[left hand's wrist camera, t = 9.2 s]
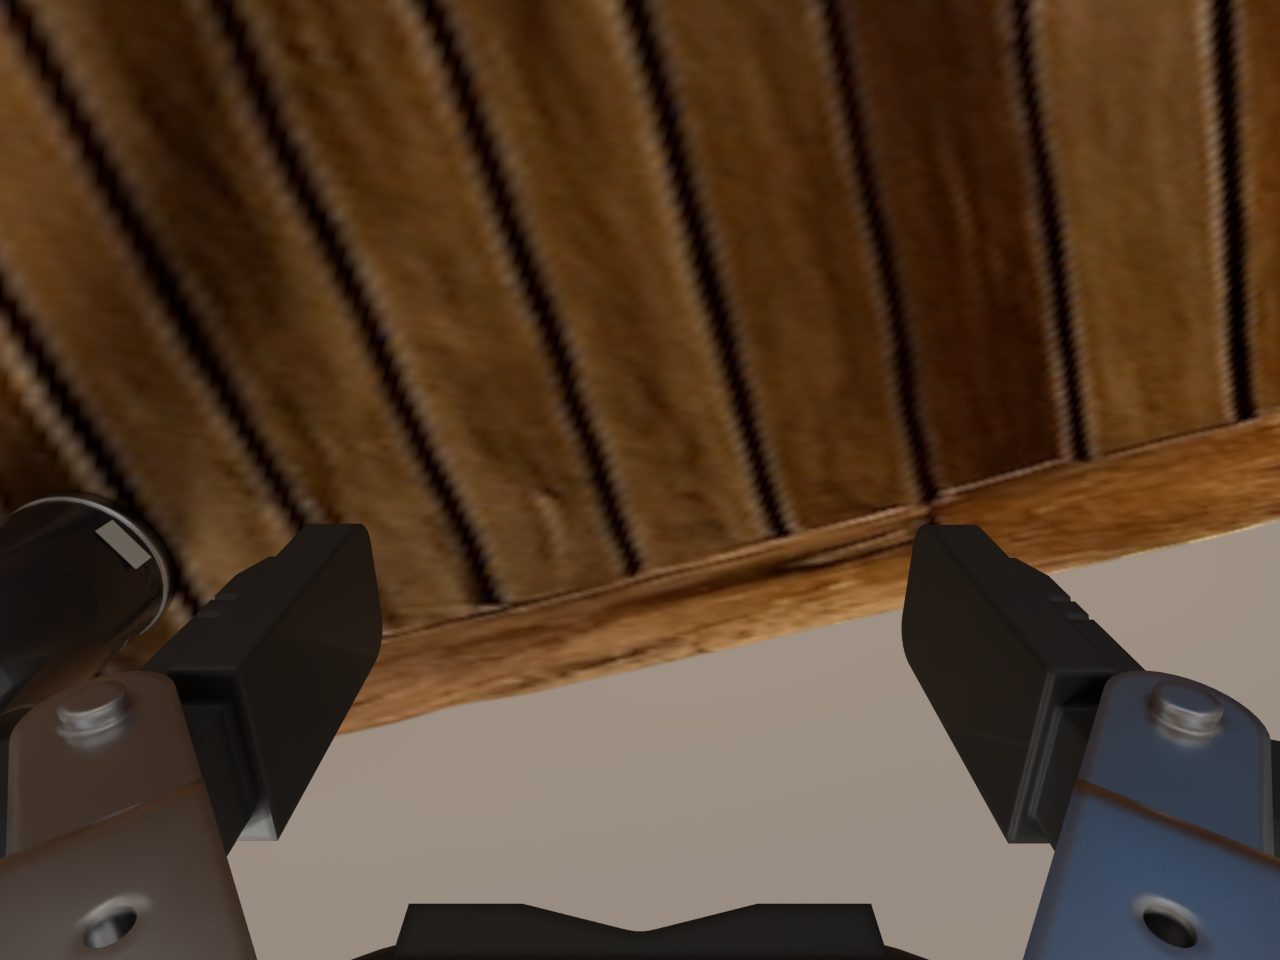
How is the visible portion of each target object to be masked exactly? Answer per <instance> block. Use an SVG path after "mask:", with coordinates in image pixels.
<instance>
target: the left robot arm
mask: <svg viewBox="0 0 1280 960" xmlns="http://www.w3.org/2000/svg"><path fill="white" fill-rule="evenodd" d="M174 586H175V579H174V571H173V567H172V563H171V560H170V558H169V555H168V553H167V551H166V549H165V547H164V546H163V544H162V542H161V541H160V540H159V538H158V537H157V536H156V534H155V533H154V532H153V531H152V530H151V529H150V528H149V527H148V526H147V525H146V524H145V523H144V522H143V521H142V520H141V519H140V518H138V517H137V516H136V515H134V514H133V513H132V512H130V511H129V510H127V509H125V508H124V507H122V506H120V505H118V504H116V503H114V502H112V501H109V500H107V499H104V498H101V497H98V496H95V495H91V494H85V493H78V492H59V493H53V494H48V495H45V496H42V497H39V498H37V499H35V500H33V501H31V502H29V503H27V504H26V505H24V506H22V507H20V508H18V509H17V510H15V511H14V512H13V513H12V514H11V515H9V516H8V517H6V518H4V519H2V520H0V960H257V958H256V954H255V951H254V947H253V944H252V941H251V937H250V934H249V931H248V927H247V924H246V920H245V917H244V914H243V910H242V907H241V903H240V900H239V897H238V893H237V890H236V887H235V883H234V880H233V876H232V873H231V870H230V866H229V863H228V860H227V855H228V854H229V852H230V851H231V849H232V847H233V846H234V844H235V842H236V841H277V840H278V839H279V837H280V835H281V834H282V832H283V830H284V828H285V826H286V824H287V823H288V821H289V819H290V817H291V815H292V813H293V811H294V810H295V808H296V806H297V804H298V802H299V801H300V799H301V797H302V795H303V793H304V791H305V789H306V788H307V786H308V784H309V782H310V780H311V779H312V777H313V775H314V773H315V771H316V769H317V768H318V766H319V764H320V762H321V760H322V758H323V757H324V755H325V753H326V751H327V749H328V747H329V746H330V744H331V742H332V740H333V738H334V737H335V735H336V733H337V731H338V729H339V727H340V726H341V724H342V722H343V720H344V718H345V716H346V715H347V713H348V711H349V709H350V707H351V705H352V704H353V702H354V700H355V698H356V696H357V694H358V693H359V691H360V689H361V687H362V685H363V683H364V682H365V680H366V678H367V676H368V674H369V672H370V671H371V669H372V667H373V665H374V663H375V661H376V659H377V657H378V654H379V650H380V646H381V640H382V614H381V608H380V601H379V594H378V588H377V581H376V574H375V568H374V561H373V554H372V548H371V542H370V537H369V534H368V531H367V529H366V528H365V526H364V525H362V524H308V525H306V526H305V527H304V528H303V529H302V530H301V531H300V532H299V533H298V534H297V535H296V536H295V537H294V538H293V539H292V540H291V541H290V542H289V543H288V544H287V545H286V546H285V547H284V548H283V549H282V550H281V551H280V553H279V554H278V555H277V556H276V557H268V558H266V559H264V560H262V561H261V562H259V563H257V564H255V565H253V566H251V567H250V568H248V569H246V570H244V571H242V572H240V573H239V574H237V575H236V576H235V577H234V578H233V579H231V580H230V581H229V582H228V583H227V584H226V585H225V586H224V587H223V588H222V589H221V590H220V591H219V592H218V593H217V594H216V595H215V600H210V601H209V602H208V603H207V604H206V605H205V606H204V607H203V608H202V609H201V610H200V611H199V612H198V613H197V618H192V619H191V620H190V621H189V622H188V623H187V624H186V625H185V626H184V627H183V628H182V629H181V630H180V631H179V632H178V633H177V634H176V635H175V636H174V637H173V638H172V639H171V640H170V641H169V642H167V643H166V644H165V645H164V646H163V647H162V648H161V649H160V650H159V651H158V652H157V653H156V654H155V655H154V656H153V657H152V658H151V659H150V660H149V661H148V662H147V663H146V664H145V665H144V666H143V667H142V668H141V669H140V670H139V671H126V672H118V673H113V674H108V675H104V676H100V677H96V678H93V679H91V678H92V677H93V676H94V675H95V674H96V673H97V672H98V671H99V670H101V669H102V668H103V667H104V666H105V665H106V664H107V663H108V662H109V661H110V660H112V659H113V658H114V657H115V656H116V655H117V654H118V653H120V652H121V651H122V650H123V649H124V648H125V647H126V646H127V645H128V644H129V643H131V642H132V641H133V640H134V639H135V638H136V637H137V636H138V635H140V634H142V633H143V632H145V631H146V630H147V629H148V628H150V627H151V626H152V625H153V624H154V623H155V622H156V621H157V620H158V619H159V618H160V617H161V616H162V615H163V614H164V613H165V611H166V610H167V609H168V607H169V605H170V603H171V600H172V597H173V593H174ZM902 641H903V647H904V652H905V655H906V658H907V661H908V663H909V665H910V666H911V668H912V670H913V672H914V674H915V676H916V677H917V679H918V681H919V683H920V685H921V686H922V688H923V690H924V692H925V694H926V695H927V697H928V699H929V701H930V702H931V704H932V706H933V708H934V710H935V712H936V713H937V715H938V717H939V719H940V721H941V722H942V724H943V726H944V728H945V730H946V732H947V733H948V735H949V737H950V739H951V741H952V742H953V744H954V746H955V748H956V750H957V751H958V753H959V755H960V757H961V759H962V760H963V762H964V764H965V766H966V768H967V769H968V771H969V773H970V775H971V777H972V779H973V780H974V782H975V784H976V786H977V787H978V789H979V791H980V793H981V795H982V797H983V798H984V800H985V802H986V804H987V806H988V807H989V809H990V811H991V813H992V815H993V817H994V818H995V820H996V822H997V824H998V826H999V827H1000V829H1001V831H1002V833H1003V835H1004V836H1005V838H1006V840H1007V842H1008V843H1050V844H1051V846H1052V848H1053V849H1054V851H1055V853H1054V856H1053V860H1052V863H1051V866H1050V870H1049V873H1048V876H1047V880H1046V883H1045V887H1044V890H1043V893H1042V897H1041V900H1040V903H1039V907H1038V910H1037V914H1036V917H1035V920H1034V924H1033V927H1032V931H1031V934H1030V937H1029V941H1028V944H1027V947H1026V951H1025V954H1024V958H1023V960H1280V741H1276V740H1271V739H1270V736H1269V733H1268V731H1267V730H1266V728H1265V726H1264V725H1263V724H1262V722H1261V721H1260V720H1259V719H1258V718H1257V717H1256V716H1255V715H1254V714H1253V713H1252V712H1251V711H1250V710H1248V709H1247V708H1246V707H1244V706H1243V705H1242V704H1240V703H1239V702H1237V701H1236V700H1234V699H1232V698H1231V697H1229V696H1227V695H1225V694H1223V693H1222V692H1220V691H1218V690H1216V689H1213V688H1211V687H1209V686H1206V685H1204V684H1202V683H1199V682H1196V681H1193V680H1190V679H1187V678H1184V677H1180V676H1176V675H1172V674H1167V673H1162V672H1154V671H1145V670H1144V669H1143V668H1142V667H1141V666H1140V665H1139V664H1138V663H1137V662H1136V661H1135V660H1134V659H1133V658H1132V657H1131V656H1130V655H1129V654H1128V653H1127V652H1126V651H1125V650H1124V649H1123V648H1122V647H1121V646H1120V645H1119V644H1118V643H1117V642H1116V641H1115V640H1114V639H1113V638H1112V637H1111V636H1110V635H1109V634H1108V633H1106V631H1105V630H1103V629H1102V628H1101V627H1100V626H1099V625H1098V624H1097V623H1096V622H1095V621H1094V620H1089V615H1088V614H1087V613H1086V612H1085V611H1084V610H1083V609H1082V608H1081V607H1080V606H1079V605H1078V604H1077V603H1076V602H1071V601H1070V596H1069V595H1068V594H1067V593H1066V592H1064V591H1063V590H1062V589H1061V588H1060V587H1059V586H1058V585H1057V584H1056V583H1055V582H1054V581H1053V580H1052V579H1051V578H1050V577H1049V576H1048V575H1046V574H1044V573H1042V572H1040V571H1038V570H1037V569H1035V568H1033V567H1031V566H1029V565H1027V564H1026V563H1024V562H1022V561H1020V560H1018V559H1016V558H1009V557H1008V556H1007V555H1006V554H1005V553H1004V552H1003V551H1002V550H1001V549H1000V548H999V547H998V546H997V545H996V543H995V542H994V541H993V540H992V539H991V538H990V537H989V536H988V535H987V534H986V533H985V532H984V531H983V530H982V529H981V528H980V527H979V526H976V525H922V526H921V527H920V528H919V529H918V531H917V533H916V535H915V539H914V544H913V550H912V556H911V563H910V570H909V576H908V583H907V589H906V596H905V602H904V609H903V615H902ZM352 960H928V959H925V958H922V957H920V956H917V955H914V954H911V953H908V952H906V951H903V950H900V949H897V948H893V947H889V946H885V945H884V943H883V940H882V937H881V934H880V931H879V927H878V924H877V921H876V918H875V915H874V912H873V909H872V905H871V904H755V905H751V906H747V907H743V908H739V909H735V910H731V911H727V912H723V913H719V914H715V915H711V916H707V917H703V918H699V919H695V920H691V921H687V922H683V923H679V924H675V925H671V926H667V927H663V928H659V929H655V930H650V931H630V930H625V929H621V928H617V927H613V926H609V925H605V924H601V923H597V922H593V921H589V920H585V919H581V918H577V917H573V916H569V915H565V914H561V913H557V912H553V911H549V910H545V909H541V908H537V907H533V906H529V905H525V904H409V905H408V909H407V912H406V915H405V918H404V921H403V924H402V927H401V931H400V934H399V937H398V940H397V943H396V945H395V946H391V947H387V948H383V949H380V950H377V951H374V952H372V953H369V954H366V955H363V956H361V957H358V958H355V959H352Z"/></svg>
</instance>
